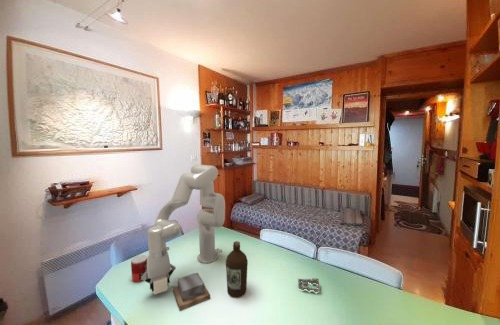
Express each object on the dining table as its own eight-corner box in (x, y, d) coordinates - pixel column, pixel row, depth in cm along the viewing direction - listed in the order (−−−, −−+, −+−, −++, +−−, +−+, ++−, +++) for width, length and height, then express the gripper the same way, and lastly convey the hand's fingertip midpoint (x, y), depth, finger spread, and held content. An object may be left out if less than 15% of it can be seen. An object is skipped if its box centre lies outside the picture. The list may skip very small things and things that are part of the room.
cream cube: (165, 282, 107) (164, 271, 107) (167, 289, 102) (167, 278, 102) (152, 287, 104) (151, 275, 104) (154, 294, 99) (153, 282, 98)
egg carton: (319, 285, 109) (319, 278, 108) (320, 296, 102) (320, 288, 101) (298, 282, 112) (298, 274, 111) (297, 291, 105) (297, 284, 104)
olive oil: (231, 282, 111) (230, 236, 109) (250, 286, 108) (250, 239, 106) (222, 296, 101) (221, 246, 99) (243, 301, 98) (243, 249, 96)
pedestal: (200, 281, 112) (200, 269, 111) (210, 298, 100) (209, 284, 99) (172, 291, 104) (172, 278, 104) (179, 310, 92) (179, 295, 92)
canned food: (141, 283, 110) (140, 263, 109) (128, 281, 112) (127, 261, 111) (151, 274, 118) (150, 255, 116) (138, 272, 119) (137, 254, 118)
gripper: (174, 244, 109) (176, 276, 111) (136, 253, 100) (139, 289, 102) (178, 250, 102) (180, 285, 104) (137, 261, 93) (140, 299, 96)
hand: (160, 286), depth 103 cm, fingers closed on cream cube, 6 cm apart
